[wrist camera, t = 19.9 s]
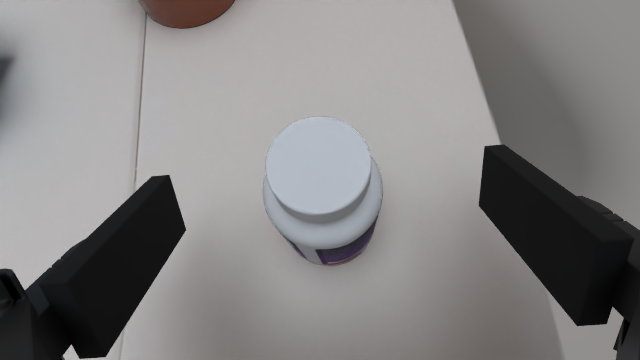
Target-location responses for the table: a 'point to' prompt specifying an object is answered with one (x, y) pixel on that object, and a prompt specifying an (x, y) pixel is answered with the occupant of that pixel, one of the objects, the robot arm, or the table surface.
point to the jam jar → (184, 11)
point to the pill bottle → (322, 189)
